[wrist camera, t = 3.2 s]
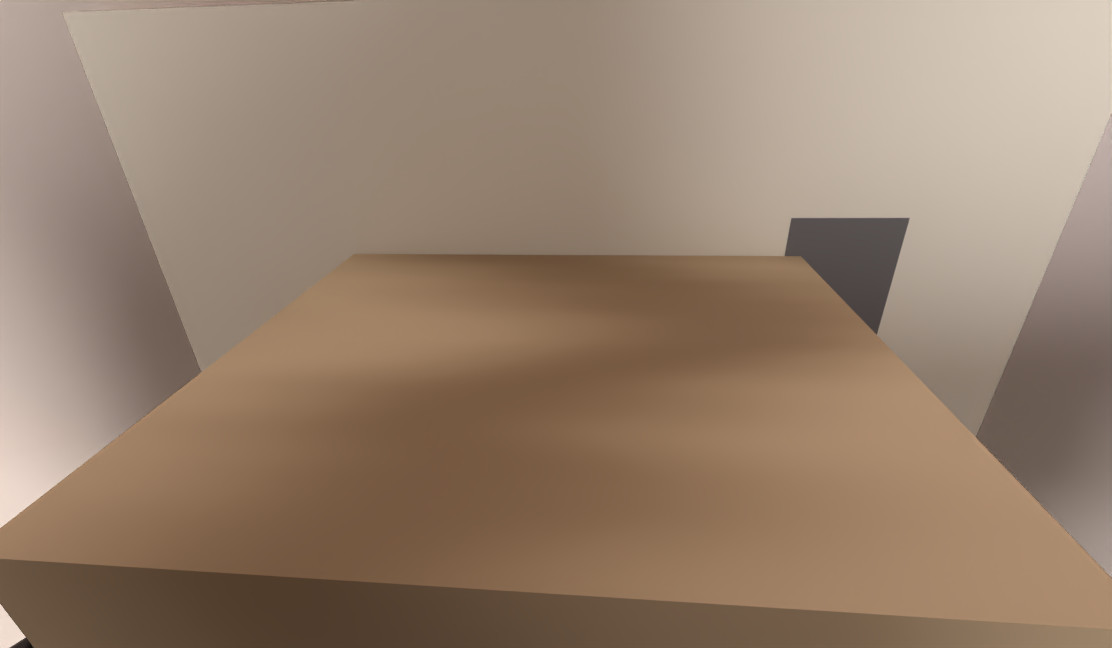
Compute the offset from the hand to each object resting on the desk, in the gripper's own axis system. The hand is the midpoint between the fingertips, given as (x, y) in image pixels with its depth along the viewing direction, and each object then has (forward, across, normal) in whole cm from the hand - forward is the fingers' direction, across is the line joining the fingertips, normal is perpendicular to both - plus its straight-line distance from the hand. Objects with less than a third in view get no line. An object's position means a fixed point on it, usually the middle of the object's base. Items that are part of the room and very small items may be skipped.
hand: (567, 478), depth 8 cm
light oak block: (+1, 0, 0) cm, 1 cm away
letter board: (+2, 0, 0) cm, 2 cm away
